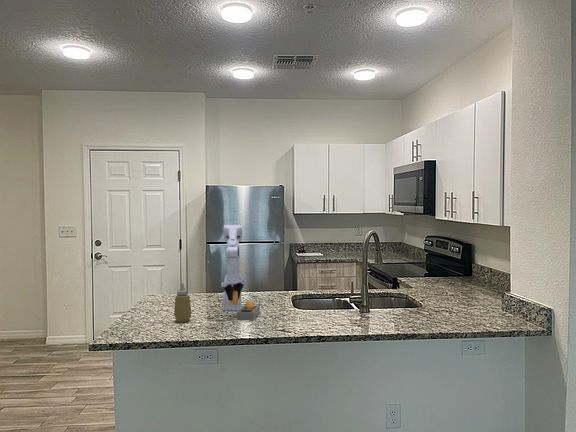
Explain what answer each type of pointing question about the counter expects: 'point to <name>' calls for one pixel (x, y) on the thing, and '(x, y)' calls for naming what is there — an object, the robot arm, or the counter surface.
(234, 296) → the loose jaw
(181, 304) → the squeeze bottle
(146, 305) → the counter surface
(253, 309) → the housing
